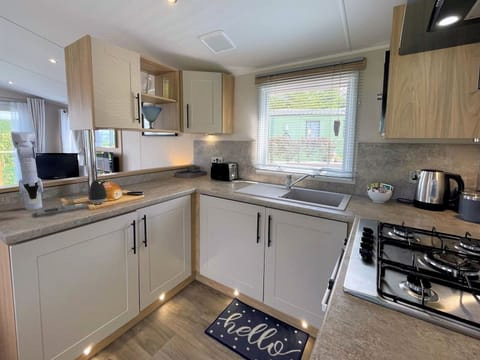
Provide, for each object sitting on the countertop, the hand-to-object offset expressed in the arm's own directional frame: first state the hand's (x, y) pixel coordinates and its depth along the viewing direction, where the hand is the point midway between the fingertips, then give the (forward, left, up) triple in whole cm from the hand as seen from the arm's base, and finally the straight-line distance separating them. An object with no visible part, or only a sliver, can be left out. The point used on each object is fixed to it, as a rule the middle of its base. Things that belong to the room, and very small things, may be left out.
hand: (32, 198), depth 117 cm
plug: (0, 0, -2) cm, 2 cm away
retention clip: (+3, +12, -4) cm, 13 cm away
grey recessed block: (0, +12, -10) cm, 15 cm away
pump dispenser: (-8, +31, -10) cm, 33 cm away
